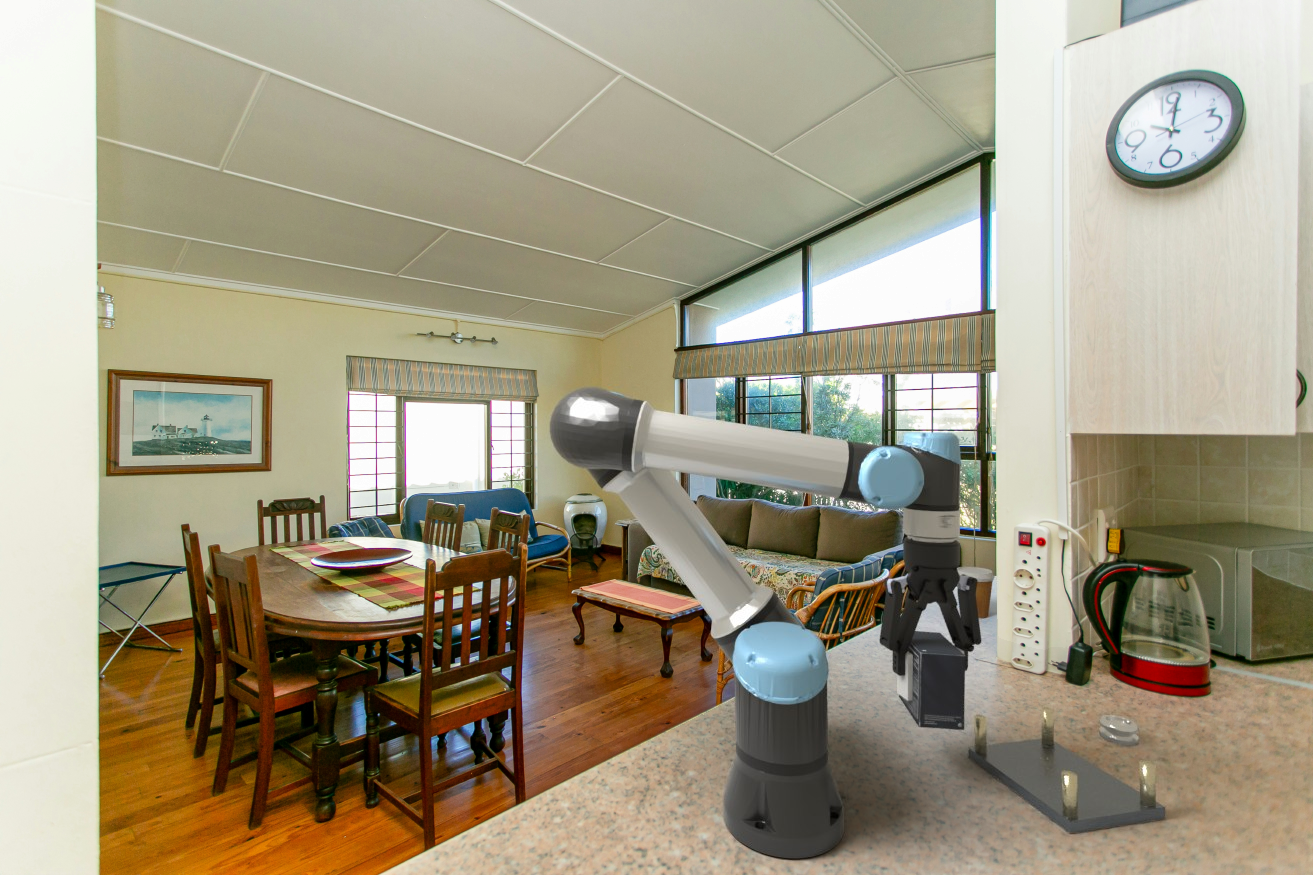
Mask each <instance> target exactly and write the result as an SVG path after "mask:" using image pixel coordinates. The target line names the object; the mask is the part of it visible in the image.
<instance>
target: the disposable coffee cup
mask: <svg viewBox="0 0 1313 875" xmlns="http://www.w3.org/2000/svg"><path fill="white" fill-rule="evenodd" d="M957 570H958V573H959V575H962V574H964V575H968V576H971V577H974V578H976V579H977V581H978V584H977V589H976V601H977V609H978V617H979V619H985V618H988V617H989V613H990V605H991V598H992V591H993V590H992V587H993V582H994V579H995V577H996V576H995V575H994V572H993V570H991V569H989V568H984V567H977V566H960V567H959V566H958V567H957Z"/></svg>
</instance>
